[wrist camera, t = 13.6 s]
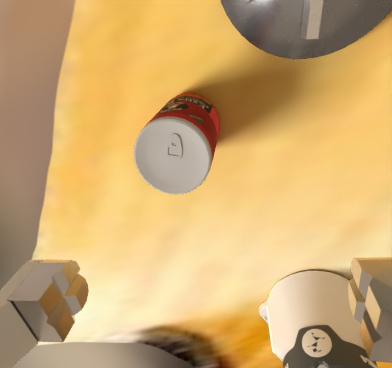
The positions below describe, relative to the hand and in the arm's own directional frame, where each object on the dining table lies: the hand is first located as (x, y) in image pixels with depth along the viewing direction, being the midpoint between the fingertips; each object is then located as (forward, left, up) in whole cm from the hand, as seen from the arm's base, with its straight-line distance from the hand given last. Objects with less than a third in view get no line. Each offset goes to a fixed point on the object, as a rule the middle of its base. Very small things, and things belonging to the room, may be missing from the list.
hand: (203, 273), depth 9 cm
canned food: (-2, +7, -29) cm, 30 cm away
